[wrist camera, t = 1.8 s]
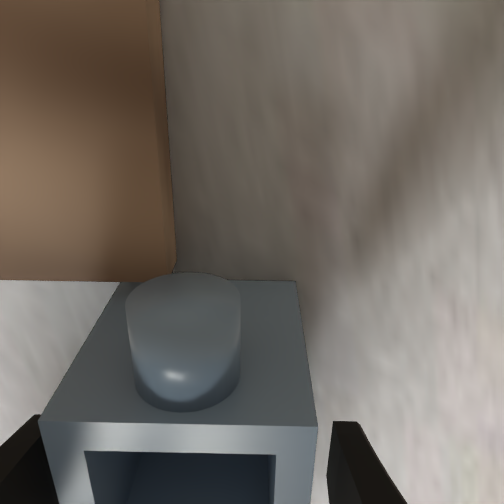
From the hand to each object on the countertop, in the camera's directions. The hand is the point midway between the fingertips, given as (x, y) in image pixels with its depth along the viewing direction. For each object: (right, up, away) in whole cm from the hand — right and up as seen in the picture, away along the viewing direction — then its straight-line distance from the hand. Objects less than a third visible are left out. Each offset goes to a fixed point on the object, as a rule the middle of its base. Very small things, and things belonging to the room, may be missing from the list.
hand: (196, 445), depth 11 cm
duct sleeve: (0, +3, +3) cm, 4 cm away
